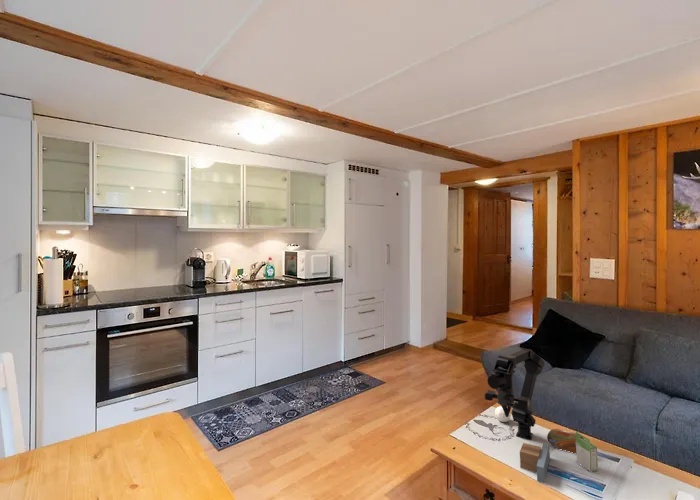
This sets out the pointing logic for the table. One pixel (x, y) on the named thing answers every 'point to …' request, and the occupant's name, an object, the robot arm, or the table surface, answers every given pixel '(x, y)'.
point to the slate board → (543, 462)
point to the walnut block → (529, 457)
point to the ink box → (586, 453)
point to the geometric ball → (501, 414)
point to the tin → (562, 440)
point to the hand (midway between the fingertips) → (507, 416)
